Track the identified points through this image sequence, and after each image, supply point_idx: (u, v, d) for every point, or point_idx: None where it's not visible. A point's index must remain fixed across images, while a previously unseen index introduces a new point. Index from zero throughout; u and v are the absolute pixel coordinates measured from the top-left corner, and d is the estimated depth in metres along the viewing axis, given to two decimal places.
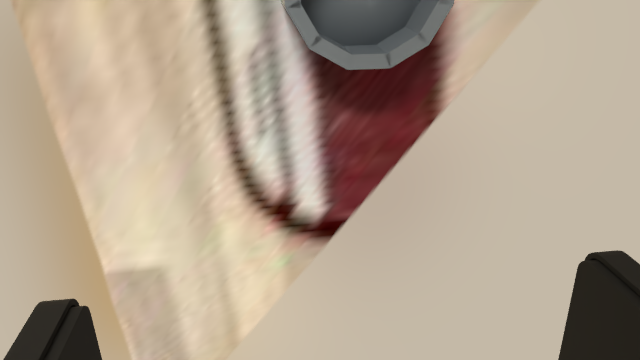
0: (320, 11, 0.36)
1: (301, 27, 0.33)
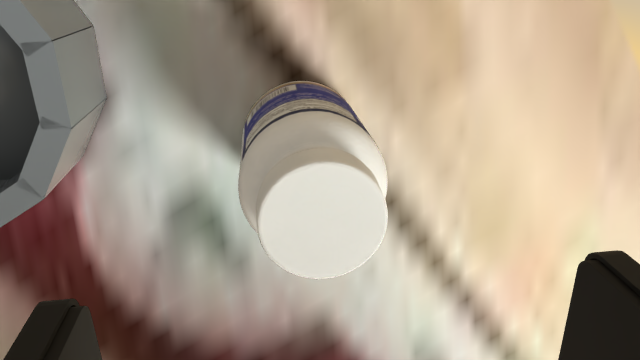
0: None
1: None
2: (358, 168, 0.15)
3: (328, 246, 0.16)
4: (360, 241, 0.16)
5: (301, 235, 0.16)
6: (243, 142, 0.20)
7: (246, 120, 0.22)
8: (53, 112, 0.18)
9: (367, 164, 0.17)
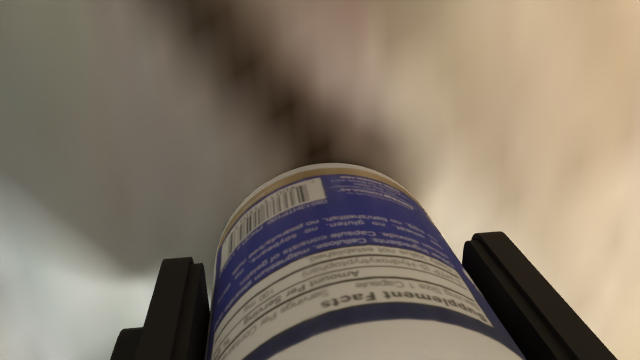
0: None
1: None
2: None
3: None
4: None
5: None
6: (210, 320, 0.09)
7: (221, 245, 0.11)
8: None
9: None
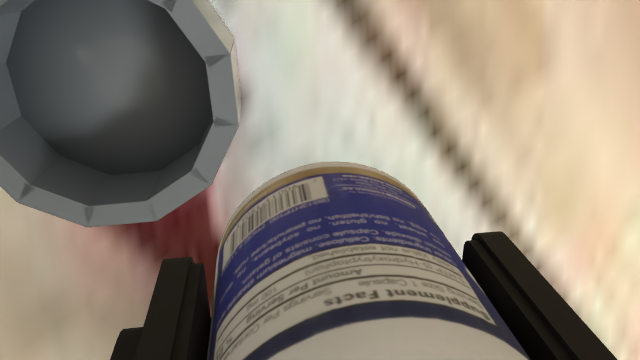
0: (134, 6, 0.23)
1: None
2: None
3: None
4: None
5: None
6: (212, 319, 0.09)
7: (222, 244, 0.11)
8: (225, 112, 0.21)
9: None
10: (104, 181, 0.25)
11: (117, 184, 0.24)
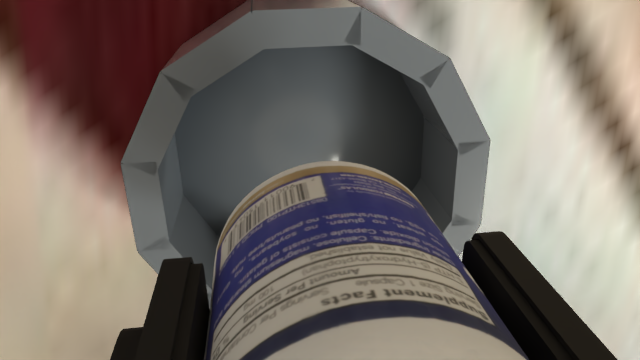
0: (340, 67, 0.18)
1: (400, 41, 0.14)
2: None
3: None
4: None
5: None
6: (210, 319, 0.09)
7: (220, 244, 0.11)
8: (467, 209, 0.17)
9: None
10: None
11: None
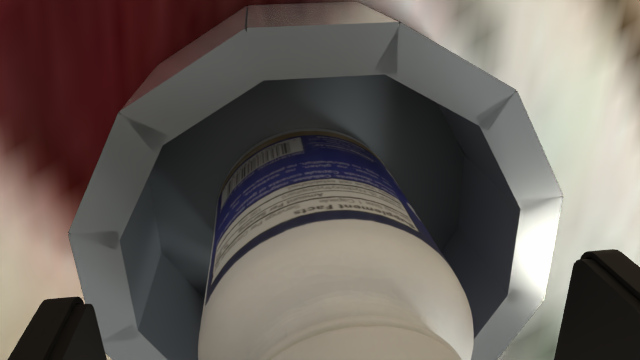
0: (360, 94, 0.14)
1: (451, 68, 0.10)
2: None
3: None
4: None
5: None
6: (213, 243, 0.12)
7: (221, 193, 0.14)
8: (528, 283, 0.13)
9: (444, 324, 0.09)
10: None
11: None
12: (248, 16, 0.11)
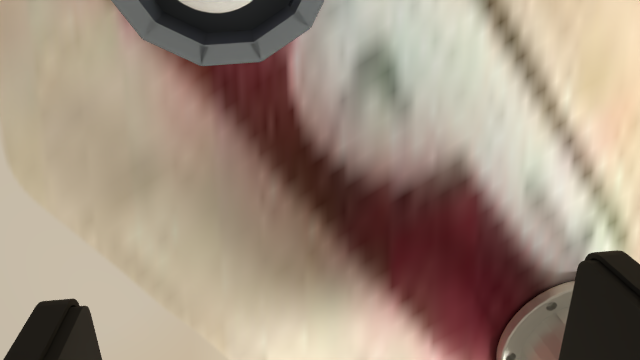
0: None
1: None
2: None
3: None
4: None
5: None
6: None
7: None
8: None
9: None
10: (204, 35, 0.28)
11: (219, 36, 0.27)
12: None
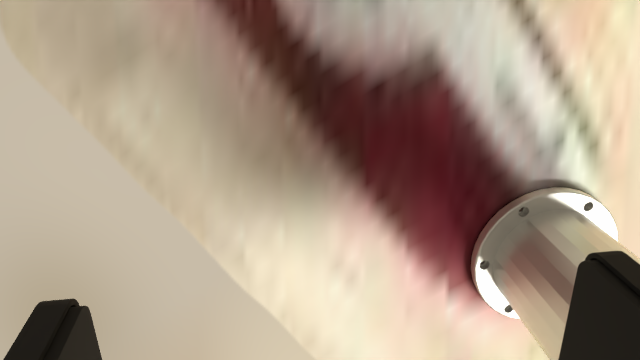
0: None
1: None
2: None
3: None
4: None
5: None
6: None
7: None
8: None
9: None
10: None
11: None
12: None
